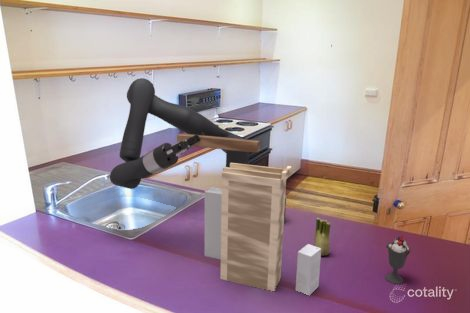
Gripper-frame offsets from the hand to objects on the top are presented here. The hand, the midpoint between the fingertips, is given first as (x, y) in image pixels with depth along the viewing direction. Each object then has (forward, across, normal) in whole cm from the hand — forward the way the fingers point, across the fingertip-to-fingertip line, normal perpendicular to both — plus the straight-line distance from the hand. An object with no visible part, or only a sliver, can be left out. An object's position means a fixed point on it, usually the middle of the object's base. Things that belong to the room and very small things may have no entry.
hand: (201, 136), depth 109 cm
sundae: (+32, +7, +63) cm, 71 cm away
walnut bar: (+3, 0, +5) cm, 6 cm away
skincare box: (+12, -8, +52) cm, 54 cm away
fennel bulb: (+13, +14, +52) cm, 56 cm away
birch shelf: (-2, -9, +44) cm, 45 cm away
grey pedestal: (-14, 0, +37) cm, 39 cm away
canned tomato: (-5, +33, +42) cm, 54 cm away
